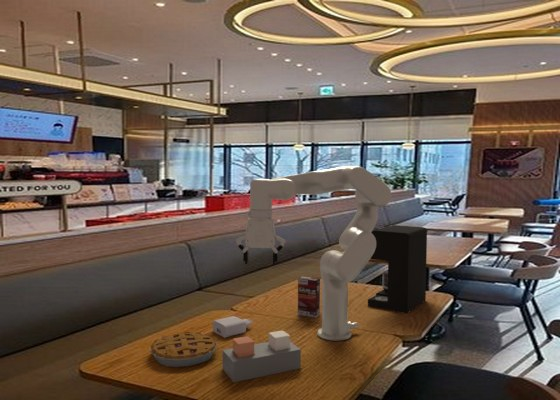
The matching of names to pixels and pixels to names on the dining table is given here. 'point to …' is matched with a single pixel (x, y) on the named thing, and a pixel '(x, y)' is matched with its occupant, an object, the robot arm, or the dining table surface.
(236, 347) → the terracotta plunger
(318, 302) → the supplement box
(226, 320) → the charger
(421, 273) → the coffee maker
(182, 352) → the pie
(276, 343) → the beige plunger
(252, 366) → the button box
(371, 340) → the dining table surface
